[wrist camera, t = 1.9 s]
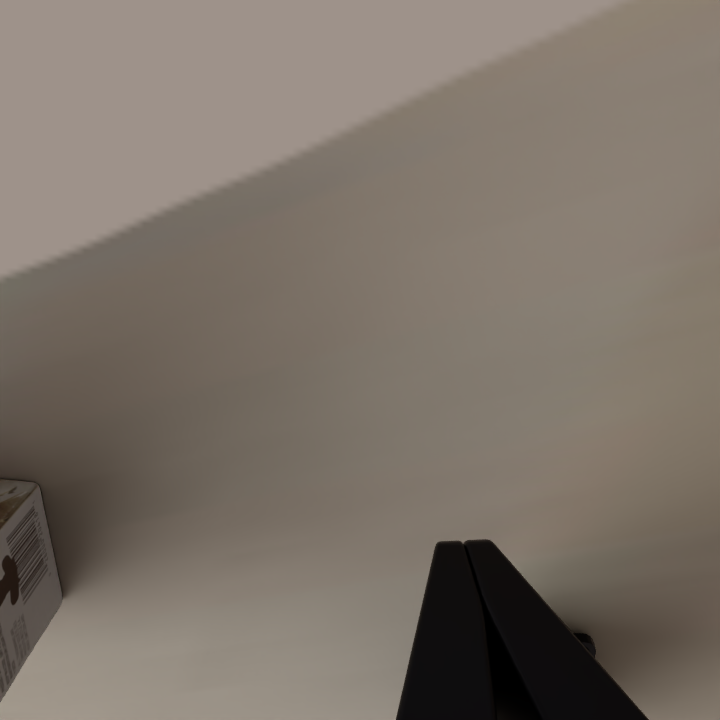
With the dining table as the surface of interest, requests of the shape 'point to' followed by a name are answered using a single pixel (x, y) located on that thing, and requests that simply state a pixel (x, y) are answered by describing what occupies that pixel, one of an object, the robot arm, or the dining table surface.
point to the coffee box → (24, 576)
